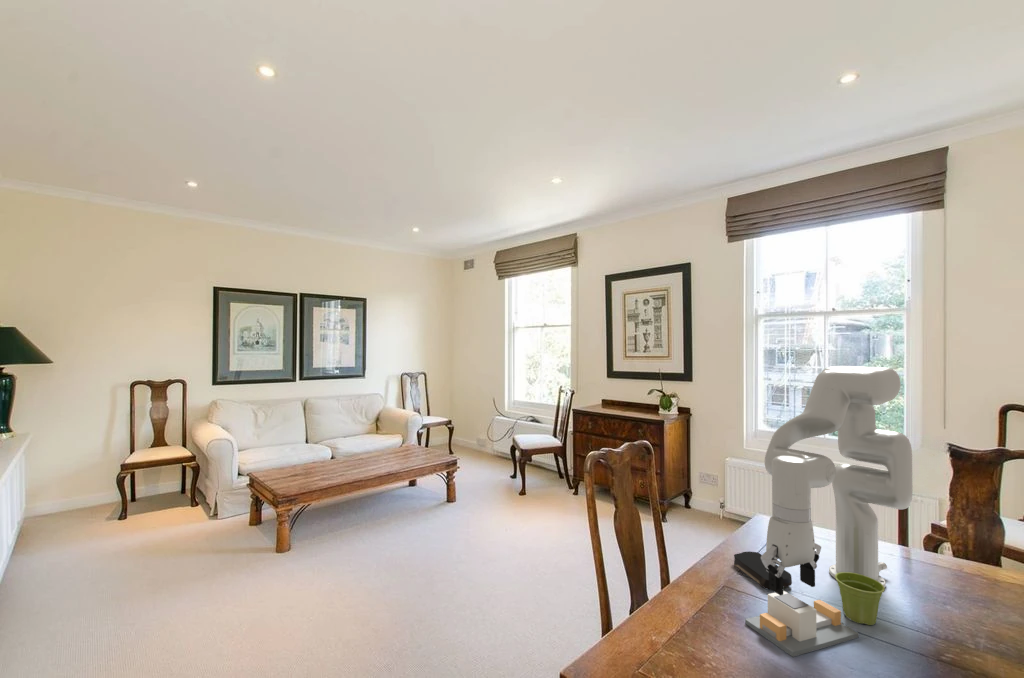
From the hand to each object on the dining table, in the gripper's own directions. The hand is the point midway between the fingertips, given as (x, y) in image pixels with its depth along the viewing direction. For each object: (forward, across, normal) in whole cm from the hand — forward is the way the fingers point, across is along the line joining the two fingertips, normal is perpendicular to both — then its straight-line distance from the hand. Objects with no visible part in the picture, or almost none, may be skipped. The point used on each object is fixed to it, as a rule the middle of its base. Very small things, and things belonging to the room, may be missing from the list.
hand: (792, 587), depth 102 cm
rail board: (+10, -2, 0) cm, 10 cm away
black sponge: (+11, -15, -22) cm, 29 cm away
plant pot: (+11, -20, +1) cm, 23 cm away
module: (+9, +1, 0) cm, 9 cm away
